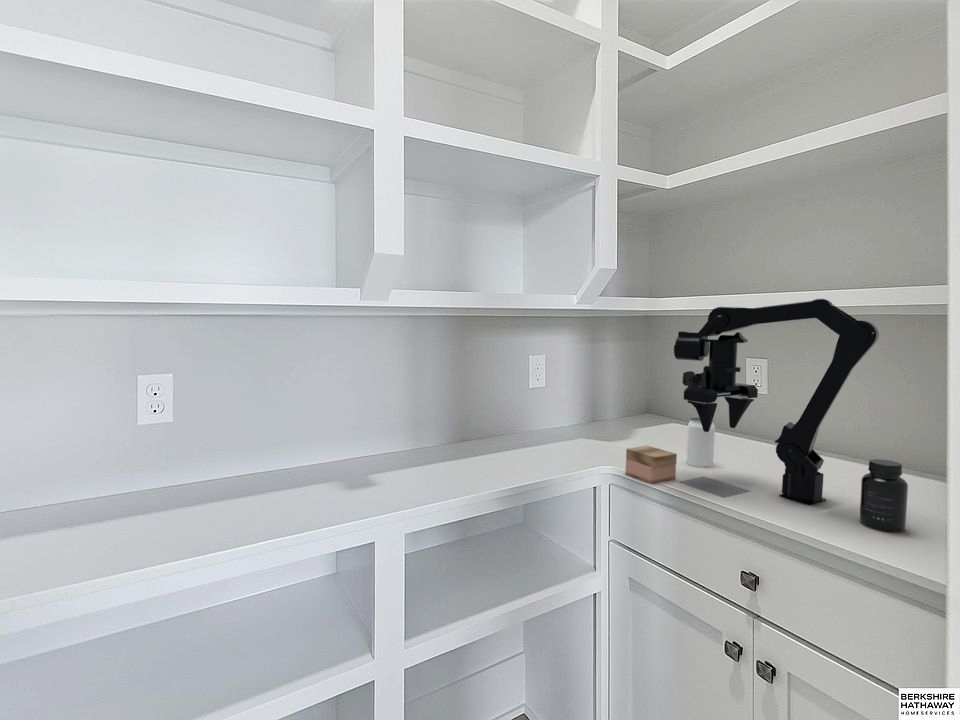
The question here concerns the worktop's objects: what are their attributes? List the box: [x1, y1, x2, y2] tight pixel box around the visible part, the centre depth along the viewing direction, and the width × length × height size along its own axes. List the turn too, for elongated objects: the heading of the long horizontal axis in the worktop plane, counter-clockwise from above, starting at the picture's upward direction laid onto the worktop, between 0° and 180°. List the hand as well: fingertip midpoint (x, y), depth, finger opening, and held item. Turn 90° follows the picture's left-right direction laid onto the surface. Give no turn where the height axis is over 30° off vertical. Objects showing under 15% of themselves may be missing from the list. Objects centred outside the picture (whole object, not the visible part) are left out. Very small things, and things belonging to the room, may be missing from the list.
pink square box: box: [625, 458, 677, 485], centre depth 125 cm, size 8×8×4 cm
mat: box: [678, 476, 751, 499], centre depth 118 cm, size 12×9×1 cm
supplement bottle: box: [859, 458, 909, 533], centre depth 97 cm, size 7×7×12 cm
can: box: [685, 417, 716, 468], centre depth 136 cm, size 6×6×12 cm
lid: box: [625, 445, 677, 468], centre depth 125 cm, size 9×7×2 cm
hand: (719, 429), depth 121 cm, fingers open, 9 cm apart
